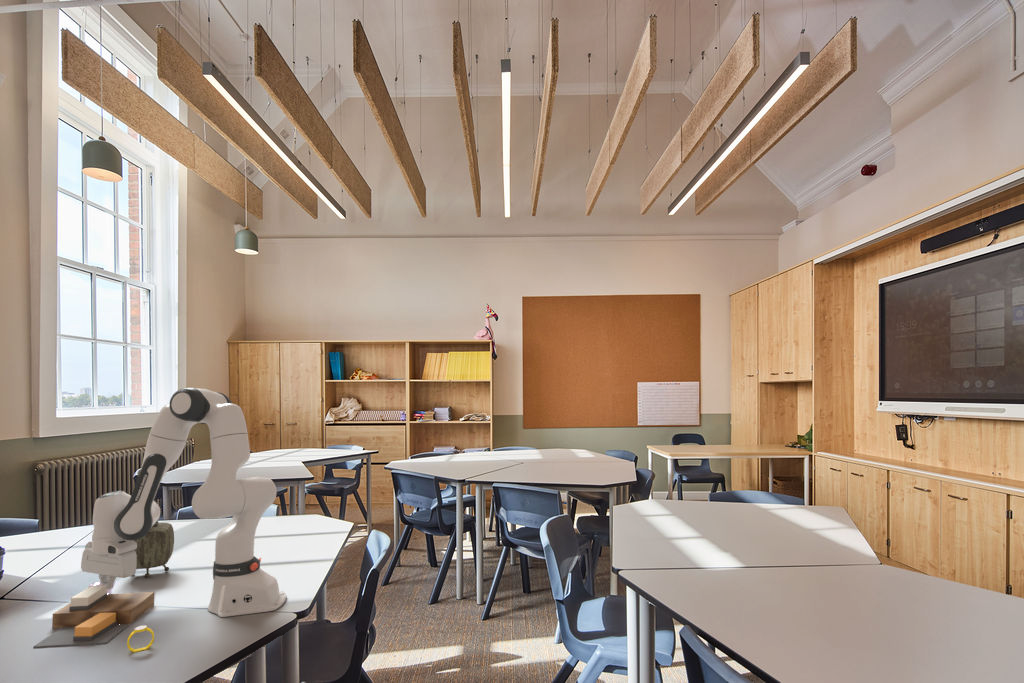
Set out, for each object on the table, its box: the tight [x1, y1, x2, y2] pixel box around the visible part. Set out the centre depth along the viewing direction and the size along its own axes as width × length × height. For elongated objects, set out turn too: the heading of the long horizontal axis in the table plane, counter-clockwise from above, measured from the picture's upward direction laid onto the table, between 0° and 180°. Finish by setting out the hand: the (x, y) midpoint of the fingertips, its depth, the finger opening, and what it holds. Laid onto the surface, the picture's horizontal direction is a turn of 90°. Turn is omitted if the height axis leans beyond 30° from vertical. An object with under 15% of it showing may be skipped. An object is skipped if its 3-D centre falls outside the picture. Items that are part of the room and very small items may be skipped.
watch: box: [126, 624, 155, 654], centre depth 153 cm, size 6×3×6 cm, turn 124°
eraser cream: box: [69, 585, 107, 611], centre depth 174 cm, size 5×10×4 cm, turn 7°
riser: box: [51, 591, 156, 629], centre depth 174 cm, size 21×14×4 cm, turn 97°
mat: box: [33, 624, 130, 649], centre depth 161 cm, size 18×12×1 cm, turn 97°
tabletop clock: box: [133, 507, 175, 579], centre depth 210 cm, size 14×9×25 cm, turn 111°
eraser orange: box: [73, 613, 117, 641], centre depth 162 cm, size 5×10×4 cm, turn 0°
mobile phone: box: [87, 580, 116, 594], centre depth 196 cm, size 8×1×15 cm
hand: (107, 588), depth 183 cm, fingers closed
